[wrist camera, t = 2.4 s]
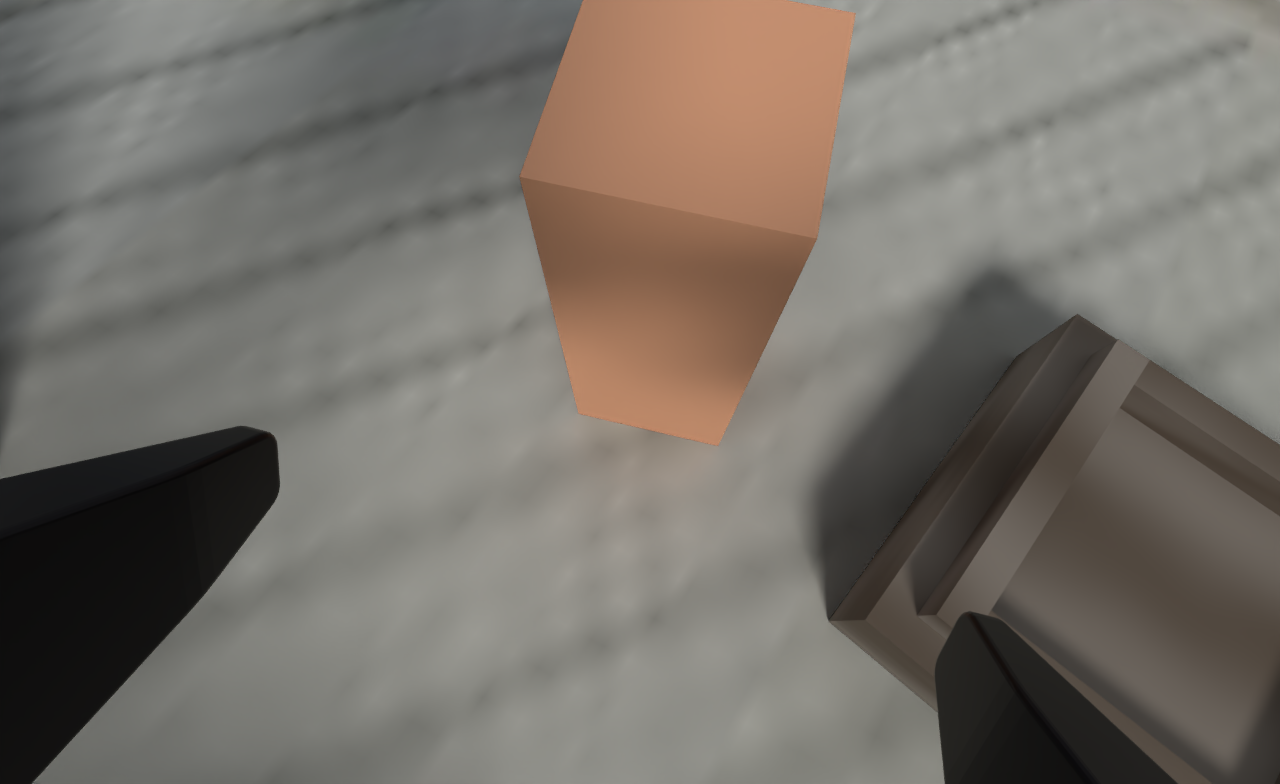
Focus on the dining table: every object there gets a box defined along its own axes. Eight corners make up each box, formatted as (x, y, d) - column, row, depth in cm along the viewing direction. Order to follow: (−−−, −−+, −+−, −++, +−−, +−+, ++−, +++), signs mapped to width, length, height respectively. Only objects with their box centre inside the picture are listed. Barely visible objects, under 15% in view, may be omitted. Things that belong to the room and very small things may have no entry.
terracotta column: (718, 446, 23) (816, 238, 11) (578, 413, 23) (519, 176, 11) (744, 319, 25) (855, 13, 12) (613, 290, 25) (595, -35, 13)
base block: (1179, 915, 18) (1352, 1005, 14) (828, 620, 21) (881, 619, 17) (1338, 577, 22) (1520, 564, 17) (1016, 356, 24) (1102, 295, 20)
